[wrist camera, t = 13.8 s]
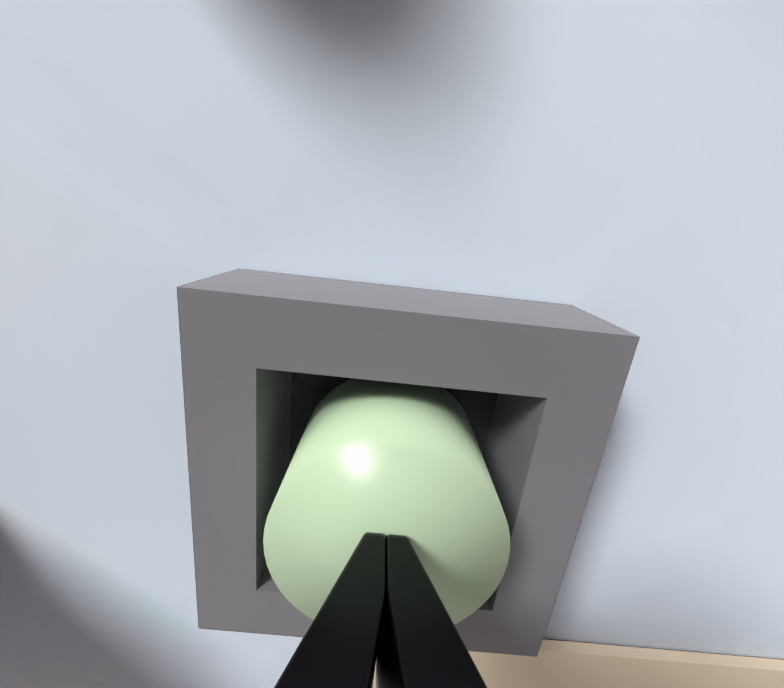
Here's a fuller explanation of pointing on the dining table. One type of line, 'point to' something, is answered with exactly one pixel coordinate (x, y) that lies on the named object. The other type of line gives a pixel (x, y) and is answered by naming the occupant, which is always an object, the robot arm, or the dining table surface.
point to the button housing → (399, 365)
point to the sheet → (624, 668)
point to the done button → (388, 495)
